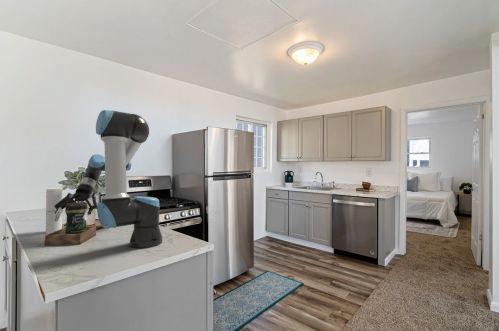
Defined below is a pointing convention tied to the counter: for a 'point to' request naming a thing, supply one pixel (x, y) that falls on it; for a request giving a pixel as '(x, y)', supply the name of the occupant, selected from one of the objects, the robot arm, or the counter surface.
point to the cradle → (69, 237)
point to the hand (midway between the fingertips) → (69, 219)
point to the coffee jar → (75, 217)
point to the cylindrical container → (52, 209)
